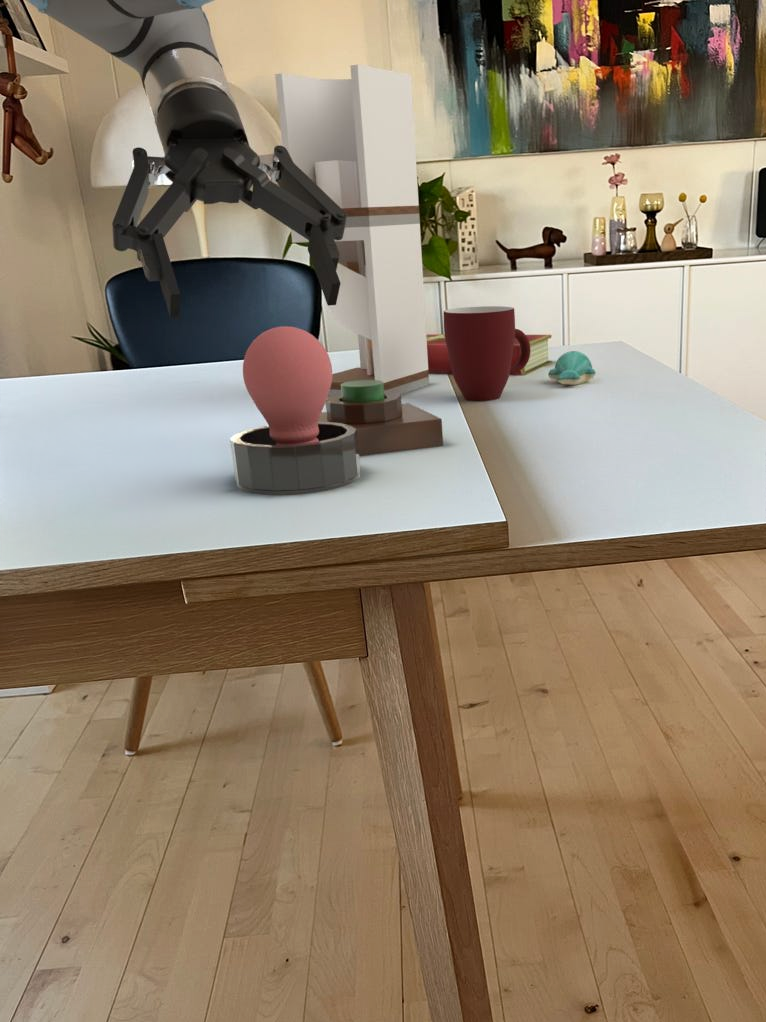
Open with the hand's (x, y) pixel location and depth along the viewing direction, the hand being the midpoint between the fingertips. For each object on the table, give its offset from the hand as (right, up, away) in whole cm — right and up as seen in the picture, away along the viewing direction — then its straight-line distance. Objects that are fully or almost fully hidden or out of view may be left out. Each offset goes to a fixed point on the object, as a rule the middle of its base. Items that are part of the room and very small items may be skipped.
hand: (257, 300), depth 88 cm
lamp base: (+8, -10, +12) cm, 18 cm away
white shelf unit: (+5, +2, +42) cm, 42 cm away
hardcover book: (+17, +9, +57) cm, 60 cm away
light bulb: (+4, -15, -1) cm, 15 cm away
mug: (+20, 0, +34) cm, 40 cm away
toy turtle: (+30, +3, +40) cm, 51 cm away
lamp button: (+8, -6, +10) cm, 14 cm away
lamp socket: (+4, -15, -1) cm, 16 cm away
